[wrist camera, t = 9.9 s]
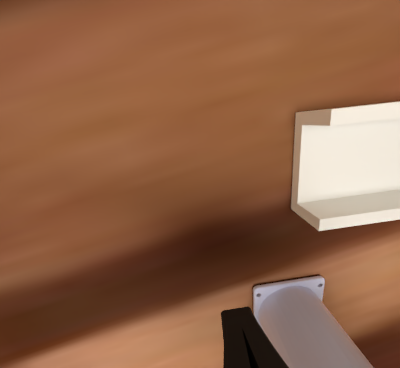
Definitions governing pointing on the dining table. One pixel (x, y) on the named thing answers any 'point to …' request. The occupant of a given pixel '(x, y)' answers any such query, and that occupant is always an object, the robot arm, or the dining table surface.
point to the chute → (347, 165)
